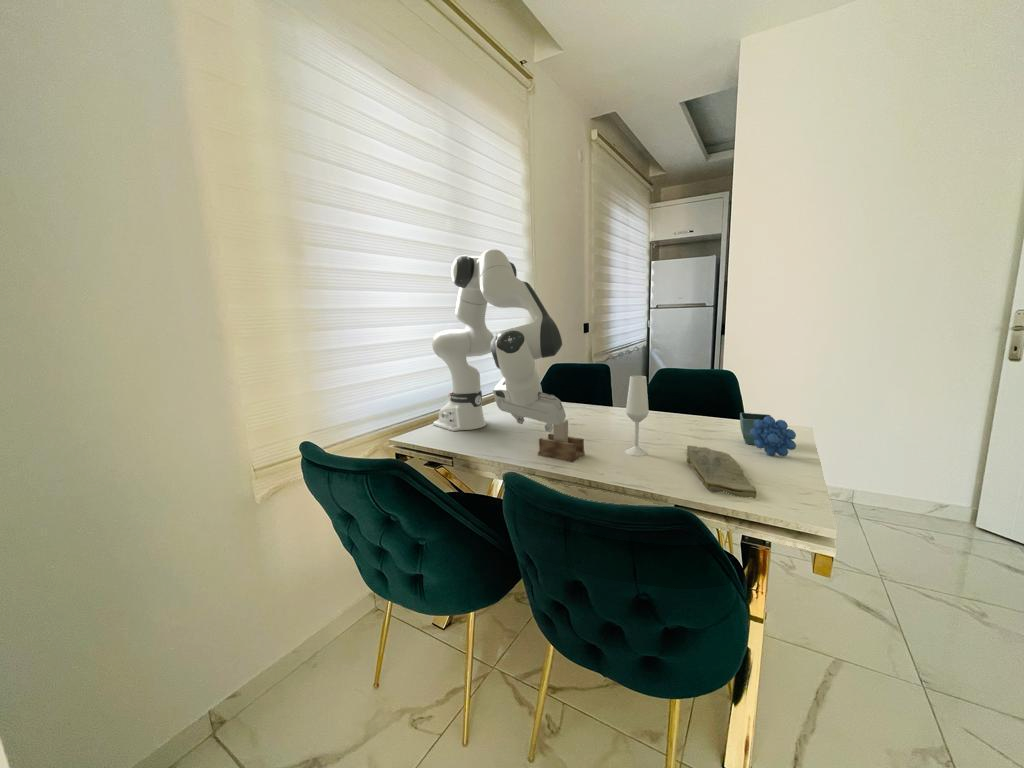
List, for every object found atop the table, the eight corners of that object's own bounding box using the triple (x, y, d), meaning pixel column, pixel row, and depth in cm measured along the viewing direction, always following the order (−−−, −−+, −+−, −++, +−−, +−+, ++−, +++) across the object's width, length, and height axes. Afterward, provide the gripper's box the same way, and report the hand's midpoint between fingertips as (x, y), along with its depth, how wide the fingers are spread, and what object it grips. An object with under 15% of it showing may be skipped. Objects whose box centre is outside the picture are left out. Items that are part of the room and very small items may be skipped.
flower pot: (772, 448, 123) (774, 420, 122) (740, 445, 127) (741, 418, 126) (768, 440, 131) (770, 414, 130) (737, 437, 135) (739, 412, 133)
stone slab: (725, 446, 119) (761, 483, 90) (724, 459, 119) (760, 500, 90) (681, 443, 122) (703, 478, 93) (680, 456, 122) (702, 495, 93)
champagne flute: (647, 456, 119) (649, 378, 115) (624, 454, 121) (626, 378, 117) (647, 449, 125) (649, 375, 122) (625, 448, 128) (627, 375, 124)
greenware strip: (553, 451, 122) (553, 420, 121) (558, 449, 125) (558, 418, 123) (563, 453, 121) (563, 422, 119) (568, 450, 123) (568, 419, 121)
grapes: (748, 457, 117) (750, 417, 115) (748, 450, 122) (751, 412, 120) (796, 463, 111) (800, 422, 109) (794, 456, 116) (797, 416, 114)
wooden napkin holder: (538, 455, 123) (538, 439, 122) (551, 448, 130) (550, 433, 129) (573, 462, 116) (573, 445, 115) (584, 454, 123) (584, 438, 122)
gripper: (565, 389, 99) (573, 427, 107) (499, 375, 110) (511, 410, 118) (553, 405, 95) (562, 443, 104) (487, 389, 106) (500, 425, 115)
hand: (535, 425), depth 111 cm, fingers open, 8 cm apart
